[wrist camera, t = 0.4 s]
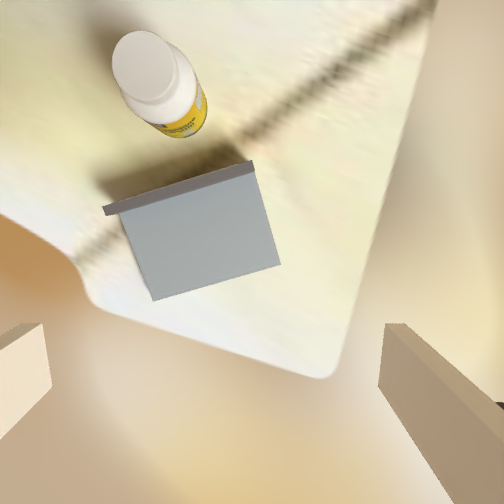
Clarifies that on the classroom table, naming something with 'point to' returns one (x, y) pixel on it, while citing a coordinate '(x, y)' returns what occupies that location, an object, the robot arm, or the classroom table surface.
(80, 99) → the classroom table surface
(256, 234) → the grey piece
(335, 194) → the classroom table surface
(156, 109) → the pill bottle
